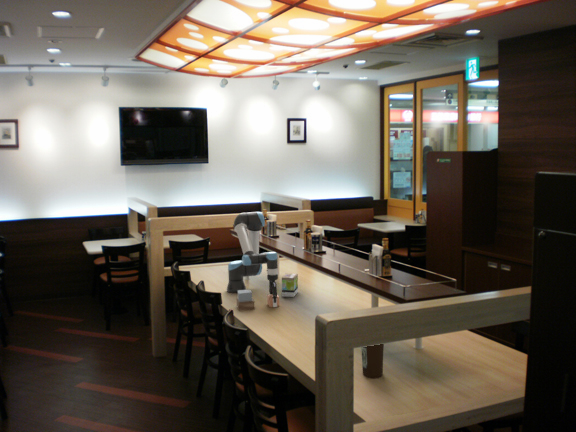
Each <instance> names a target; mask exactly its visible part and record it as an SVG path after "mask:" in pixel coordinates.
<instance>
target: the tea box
mask: <svg viewBox="0 0 576 432" xmlns="http://www.w3.org/2000/svg"><path fill="white" fill-rule="evenodd" d="M298 275H299V274H298V273H285V274H283V276H282V277H281V297H285V298H286V297H287V298H294V297H295V296H296V295H297V294H298V292H299V276H298Z"/></svg>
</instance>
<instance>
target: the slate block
mask: <svg viewBox="0 0 576 432" xmlns="http://www.w3.org/2000/svg"><path fill="white" fill-rule="evenodd" d="M236 294H237V298H238V300H239V302H246V301H252V298H253V292H252V291H251V289H246V290H237V293H236Z"/></svg>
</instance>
